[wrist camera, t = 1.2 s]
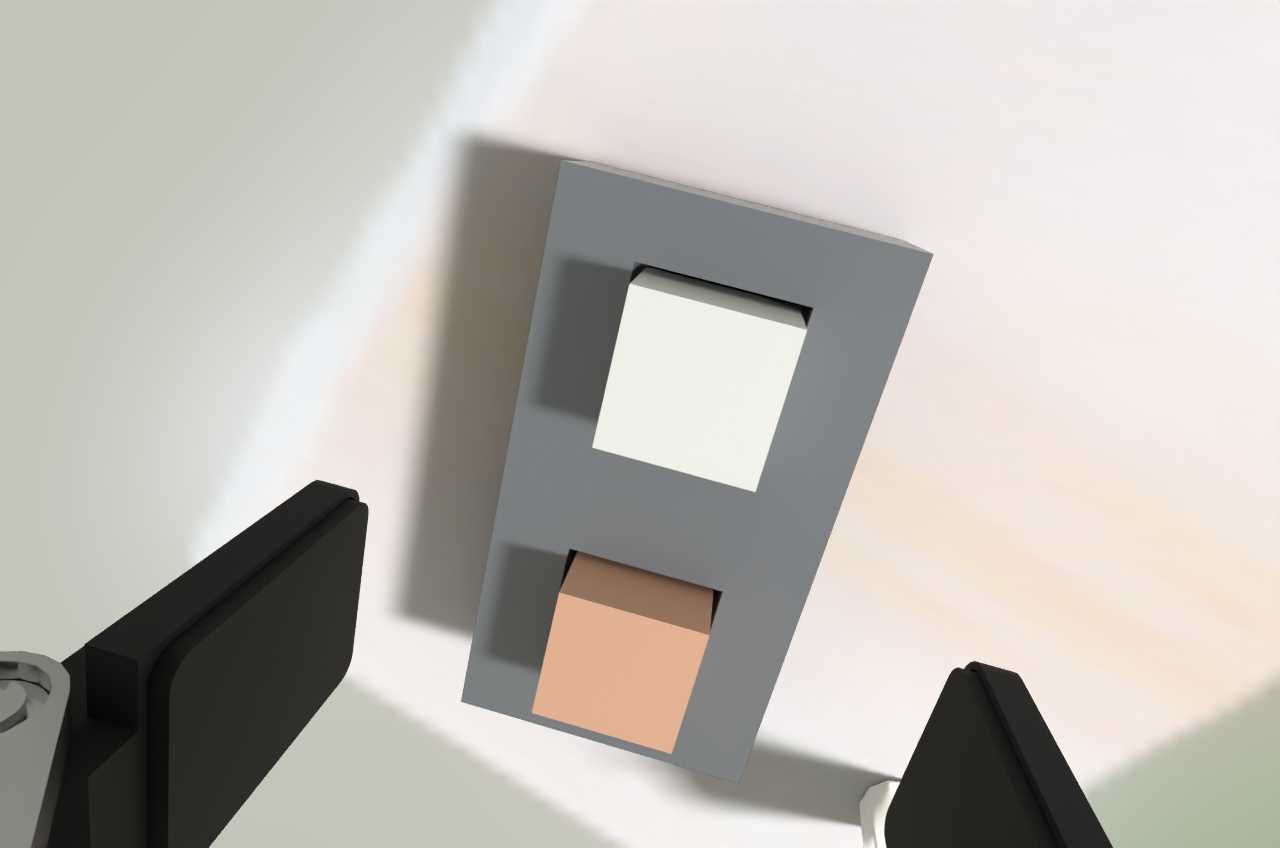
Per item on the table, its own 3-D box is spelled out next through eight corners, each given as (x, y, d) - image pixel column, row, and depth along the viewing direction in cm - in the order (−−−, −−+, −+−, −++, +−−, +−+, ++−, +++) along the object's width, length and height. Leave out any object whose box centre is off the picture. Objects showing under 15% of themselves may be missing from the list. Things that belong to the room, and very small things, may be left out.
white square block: (647, 267, 26) (629, 283, 22) (798, 306, 25) (807, 329, 22) (613, 409, 28) (592, 447, 24) (754, 447, 27) (755, 492, 24)
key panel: (589, 161, 28) (560, 160, 24) (904, 240, 27) (933, 254, 23) (495, 638, 35) (461, 701, 31) (740, 709, 35) (738, 783, 31)
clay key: (583, 538, 30) (559, 592, 26) (714, 575, 29) (709, 635, 26) (557, 648, 31) (531, 712, 28) (681, 683, 31) (671, 754, 27)
